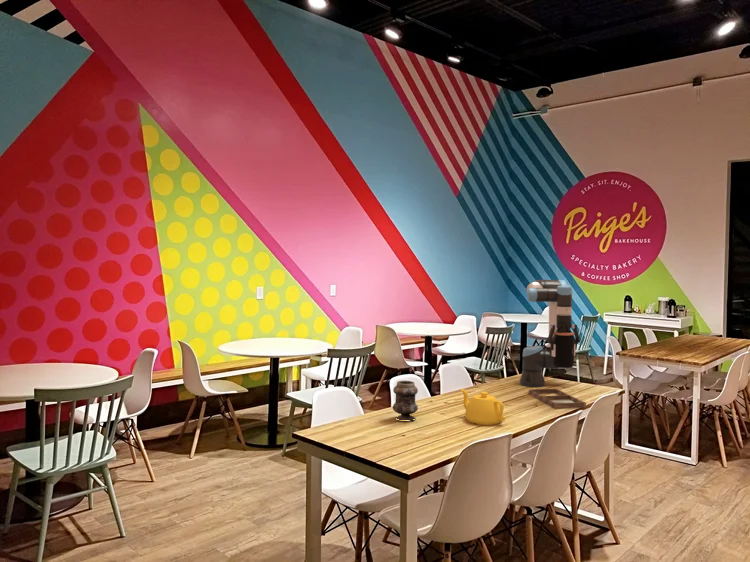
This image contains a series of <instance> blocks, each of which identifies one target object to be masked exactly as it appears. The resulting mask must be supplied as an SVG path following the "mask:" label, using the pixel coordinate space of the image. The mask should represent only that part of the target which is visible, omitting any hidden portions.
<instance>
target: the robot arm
mask: <svg viewBox="0 0 750 562" xmlns="http://www.w3.org/2000/svg"><path fill="white" fill-rule="evenodd" d="M526 293H527V301H528V302H532V303H535V302H537V303H538V302H539V303H540V302H541V303H542V302H544V303H545V302H546V303H547V304H548V336H547V340H546V343H547V344H546V345H545V348H544V347H543V346H541V345H540V346H539V345H536V346H535V345H534V346H532V345H531V346H528V347H524V348H523V350H522V372H521V376H520V378H519V385H520V386H524V387H530V388H531V387H532V388H539V387H541V388H542V387H544V386H545V385H546V380H545V377H544V374H543V369H555V370H556V369H557V370H560V369H561V370H562V369H565V368H560V367H555V366H554V364H553V357H555V347H556V344H554V343H555V341H556V337H557V335H554V332H556V333H561V332H569V333H572V332H573V333H574V336H573V337H574V357H576V350H578V349H577V348H578V347H577V346H578V344H579V343H581V337H580V335H579V330H578V325H577V324H576V323H575V324H574V323H573V324H572V320H573V319H572V317H573V316H572V311H573V309H572V306H573V305H572V303H573V302H572V301H573V288H572V286H571V285H568V282H567V281H566V280H564V279H563V280H562V279H537V280H534V281H531V282H530V283H529V284H528V285H527V287H526ZM571 328H572V330H571Z"/></svg>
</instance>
